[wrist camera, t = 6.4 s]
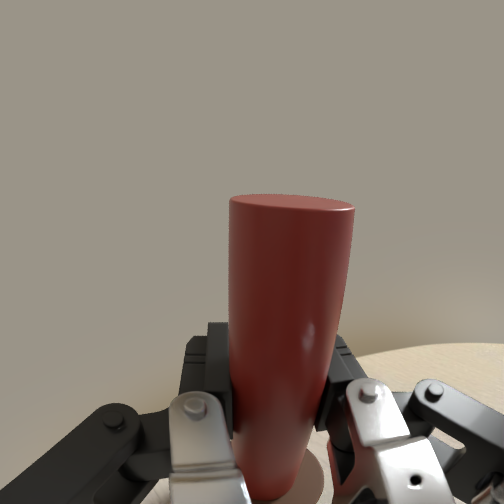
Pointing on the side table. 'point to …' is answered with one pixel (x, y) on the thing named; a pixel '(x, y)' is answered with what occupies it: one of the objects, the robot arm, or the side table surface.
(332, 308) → the red peg on stand
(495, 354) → the side table surface
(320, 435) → the side table surface
